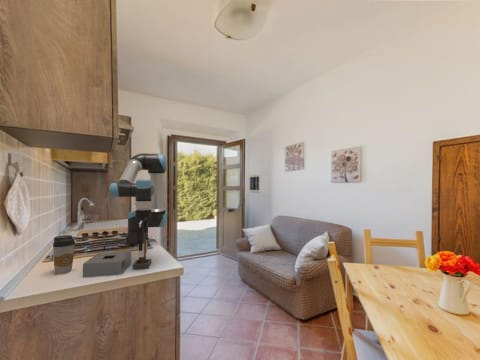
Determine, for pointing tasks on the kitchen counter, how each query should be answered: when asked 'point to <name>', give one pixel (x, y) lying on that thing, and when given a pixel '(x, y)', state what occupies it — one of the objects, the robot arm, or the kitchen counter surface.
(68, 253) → the coffee cup
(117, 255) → the box
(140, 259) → the stylus
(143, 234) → the robot arm
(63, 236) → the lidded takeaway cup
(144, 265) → the socket
